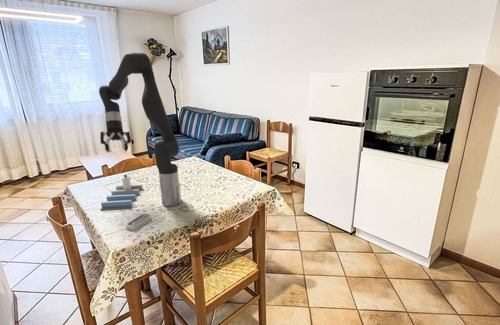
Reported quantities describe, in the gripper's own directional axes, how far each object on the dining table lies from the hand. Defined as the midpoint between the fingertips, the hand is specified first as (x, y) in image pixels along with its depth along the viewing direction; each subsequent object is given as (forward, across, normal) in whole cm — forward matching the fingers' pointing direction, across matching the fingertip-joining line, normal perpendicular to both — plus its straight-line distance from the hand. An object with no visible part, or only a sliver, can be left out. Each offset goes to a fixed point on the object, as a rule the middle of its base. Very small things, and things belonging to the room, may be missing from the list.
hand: (117, 151), depth 141 cm
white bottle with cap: (+21, +5, +12) cm, 25 cm away
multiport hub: (+39, +2, -21) cm, 44 cm away
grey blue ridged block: (+25, +2, +7) cm, 26 cm away
